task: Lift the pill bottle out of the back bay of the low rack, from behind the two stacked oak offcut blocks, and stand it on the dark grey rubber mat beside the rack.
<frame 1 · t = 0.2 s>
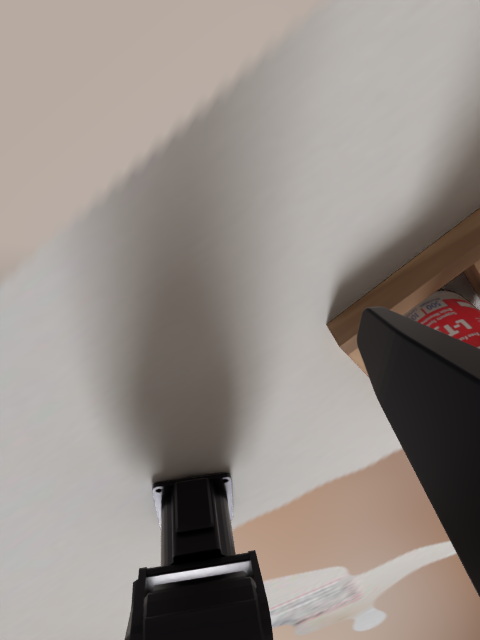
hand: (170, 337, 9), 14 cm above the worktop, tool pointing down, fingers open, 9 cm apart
pill bottle: (423, 324, 30), resting in rack
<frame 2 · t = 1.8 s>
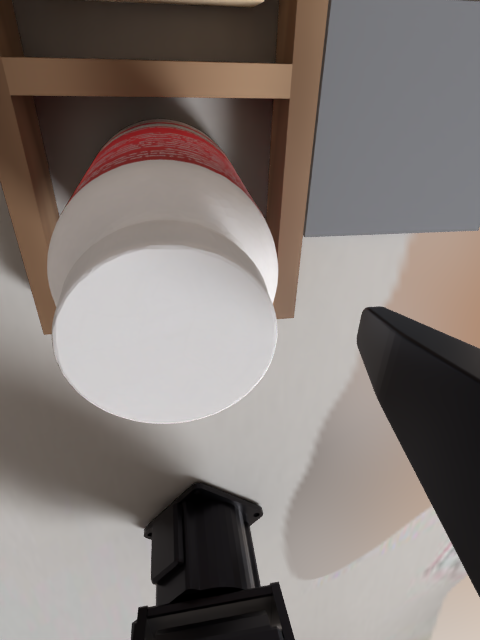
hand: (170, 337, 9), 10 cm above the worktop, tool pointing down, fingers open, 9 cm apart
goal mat: (413, 131, 18), on the worktop
pill bottle: (166, 194, 18), resting in rack
rack: (156, 75, 15), on the worktop
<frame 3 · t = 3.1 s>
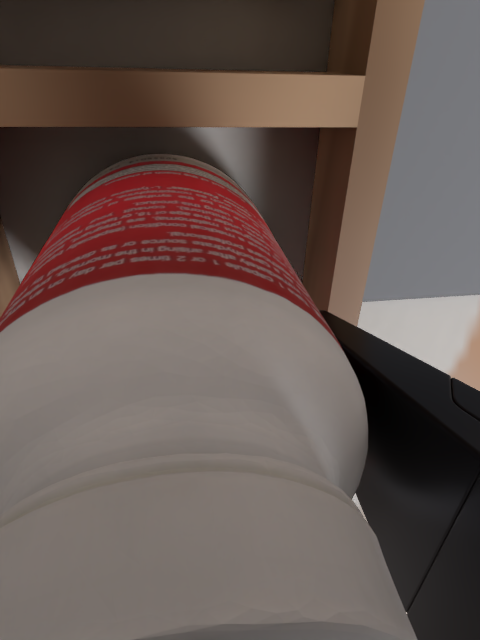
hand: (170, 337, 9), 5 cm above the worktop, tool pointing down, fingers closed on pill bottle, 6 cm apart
pill bottle: (168, 251, 13), resting in rack, touching gripper
rack: (154, 91, 10), on the worktop
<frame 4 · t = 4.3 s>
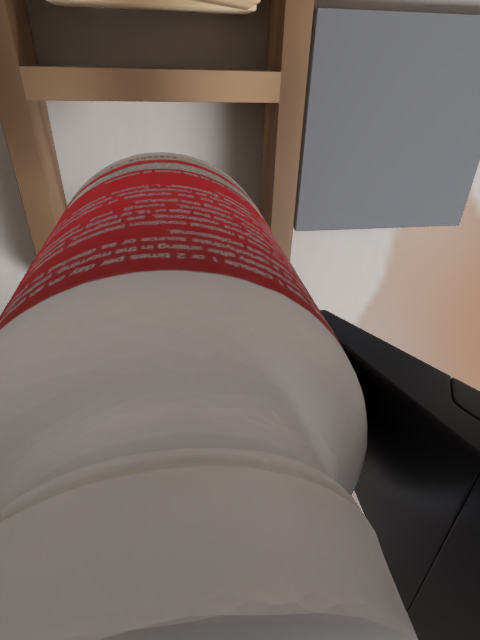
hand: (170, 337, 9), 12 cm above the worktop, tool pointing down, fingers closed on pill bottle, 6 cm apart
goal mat: (395, 132, 19), on the worktop
pill bottle: (168, 250, 13), point 7 cm above the worktop, touching gripper
rack: (157, 82, 17), on the worktop
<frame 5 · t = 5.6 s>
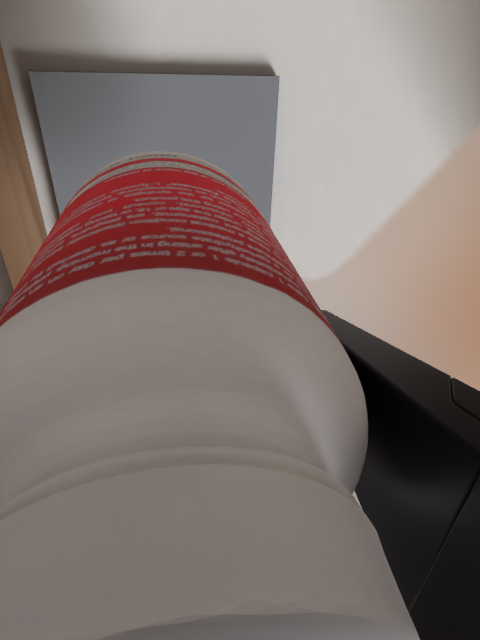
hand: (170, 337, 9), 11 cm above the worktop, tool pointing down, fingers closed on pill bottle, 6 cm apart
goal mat: (167, 194, 18), on the worktop
pill bottle: (168, 249, 13), point 6 cm above the worktop, touching gripper
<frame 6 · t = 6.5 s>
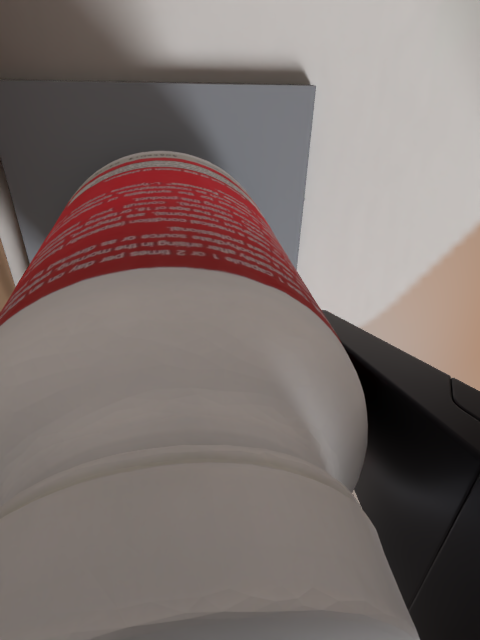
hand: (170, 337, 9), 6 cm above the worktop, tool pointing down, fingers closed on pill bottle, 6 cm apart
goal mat: (168, 235, 14), on the worktop
pill bottle: (168, 249, 13), point 1 cm above the worktop, touching gripper
when the fingers open (6 cm above the worktop, at t = 7.2 s): pill bottle stays where it is, resting on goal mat.
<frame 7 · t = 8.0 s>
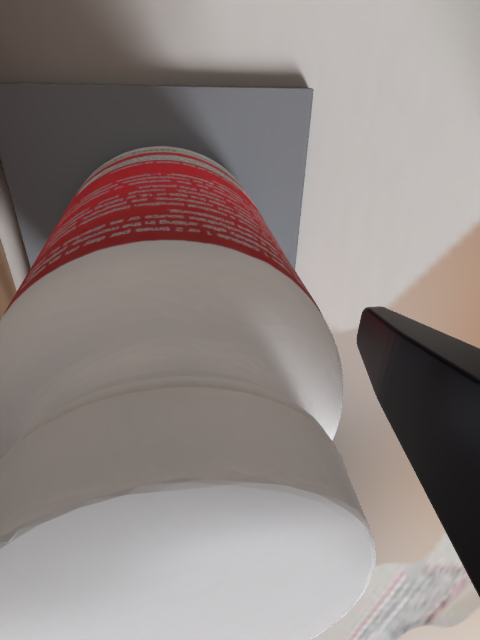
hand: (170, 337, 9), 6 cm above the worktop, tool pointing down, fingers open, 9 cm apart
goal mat: (167, 236, 14), on the worktop
pill bottle: (168, 239, 14), resting on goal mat
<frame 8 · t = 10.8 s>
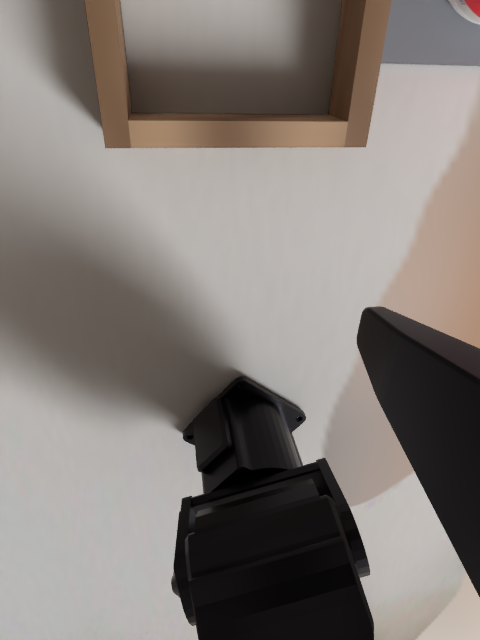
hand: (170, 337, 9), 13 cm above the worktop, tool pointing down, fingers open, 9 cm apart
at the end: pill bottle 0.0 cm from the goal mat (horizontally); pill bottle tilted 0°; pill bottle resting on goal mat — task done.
